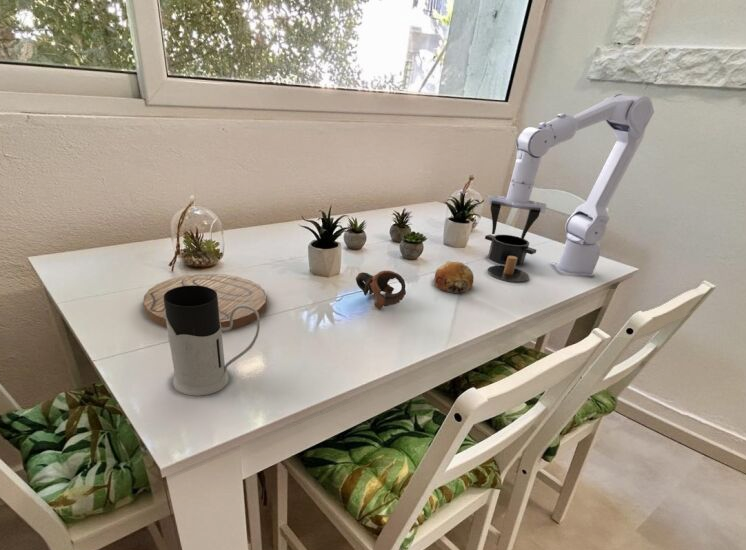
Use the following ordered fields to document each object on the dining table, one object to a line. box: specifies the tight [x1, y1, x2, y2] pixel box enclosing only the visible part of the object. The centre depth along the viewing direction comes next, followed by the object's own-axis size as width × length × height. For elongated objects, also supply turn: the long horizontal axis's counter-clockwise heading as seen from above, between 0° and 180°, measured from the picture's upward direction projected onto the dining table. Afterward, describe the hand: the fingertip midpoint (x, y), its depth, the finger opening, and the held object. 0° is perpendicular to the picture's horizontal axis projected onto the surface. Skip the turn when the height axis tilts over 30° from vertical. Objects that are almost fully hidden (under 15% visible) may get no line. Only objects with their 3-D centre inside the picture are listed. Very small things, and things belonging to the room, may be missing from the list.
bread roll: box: [434, 260, 475, 294], centre depth 117 cm, size 10×10×8 cm
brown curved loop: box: [355, 270, 407, 310], centre depth 106 cm, size 12×10×8 cm
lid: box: [486, 256, 530, 283], centre depth 126 cm, size 11×11×6 cm
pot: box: [484, 234, 537, 267], centre depth 137 cm, size 10×16×6 cm, turn 43°
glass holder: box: [164, 285, 261, 397], centre depth 72 cm, size 9×14×15 cm, turn 95°
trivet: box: [142, 273, 268, 330], centre depth 98 cm, size 25×25×2 cm
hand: (507, 235), depth 124 cm, fingers open, 7 cm apart
